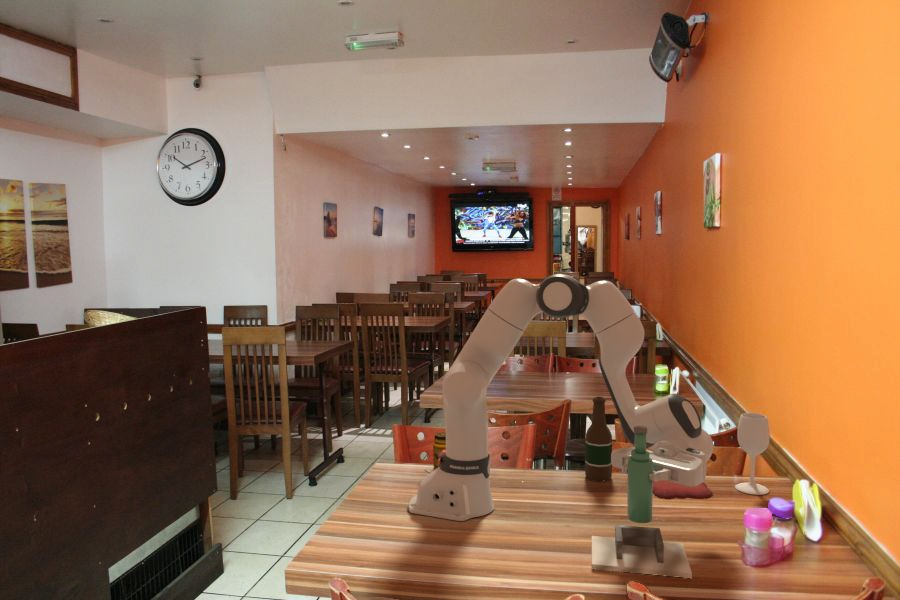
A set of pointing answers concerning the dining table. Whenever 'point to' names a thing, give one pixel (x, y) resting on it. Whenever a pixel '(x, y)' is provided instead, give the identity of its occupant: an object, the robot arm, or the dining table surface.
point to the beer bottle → (598, 445)
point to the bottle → (640, 480)
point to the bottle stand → (639, 553)
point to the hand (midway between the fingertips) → (638, 473)
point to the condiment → (438, 449)
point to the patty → (680, 490)
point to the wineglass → (753, 446)
